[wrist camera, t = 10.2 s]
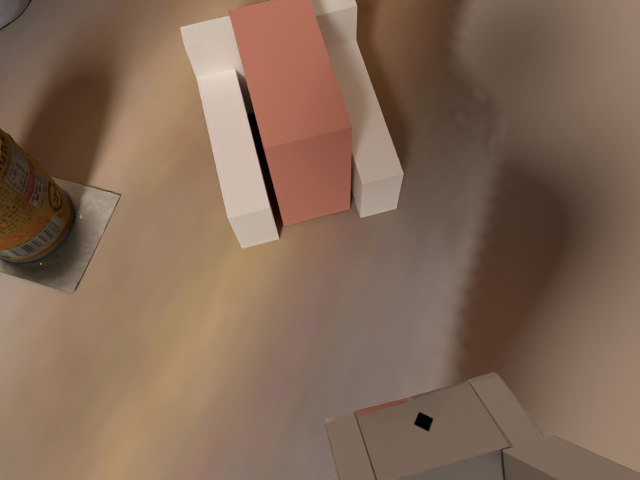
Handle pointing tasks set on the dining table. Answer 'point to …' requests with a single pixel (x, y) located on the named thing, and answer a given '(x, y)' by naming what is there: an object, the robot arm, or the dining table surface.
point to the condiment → (47, 221)
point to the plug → (296, 107)
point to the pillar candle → (11, 10)
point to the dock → (235, 104)
